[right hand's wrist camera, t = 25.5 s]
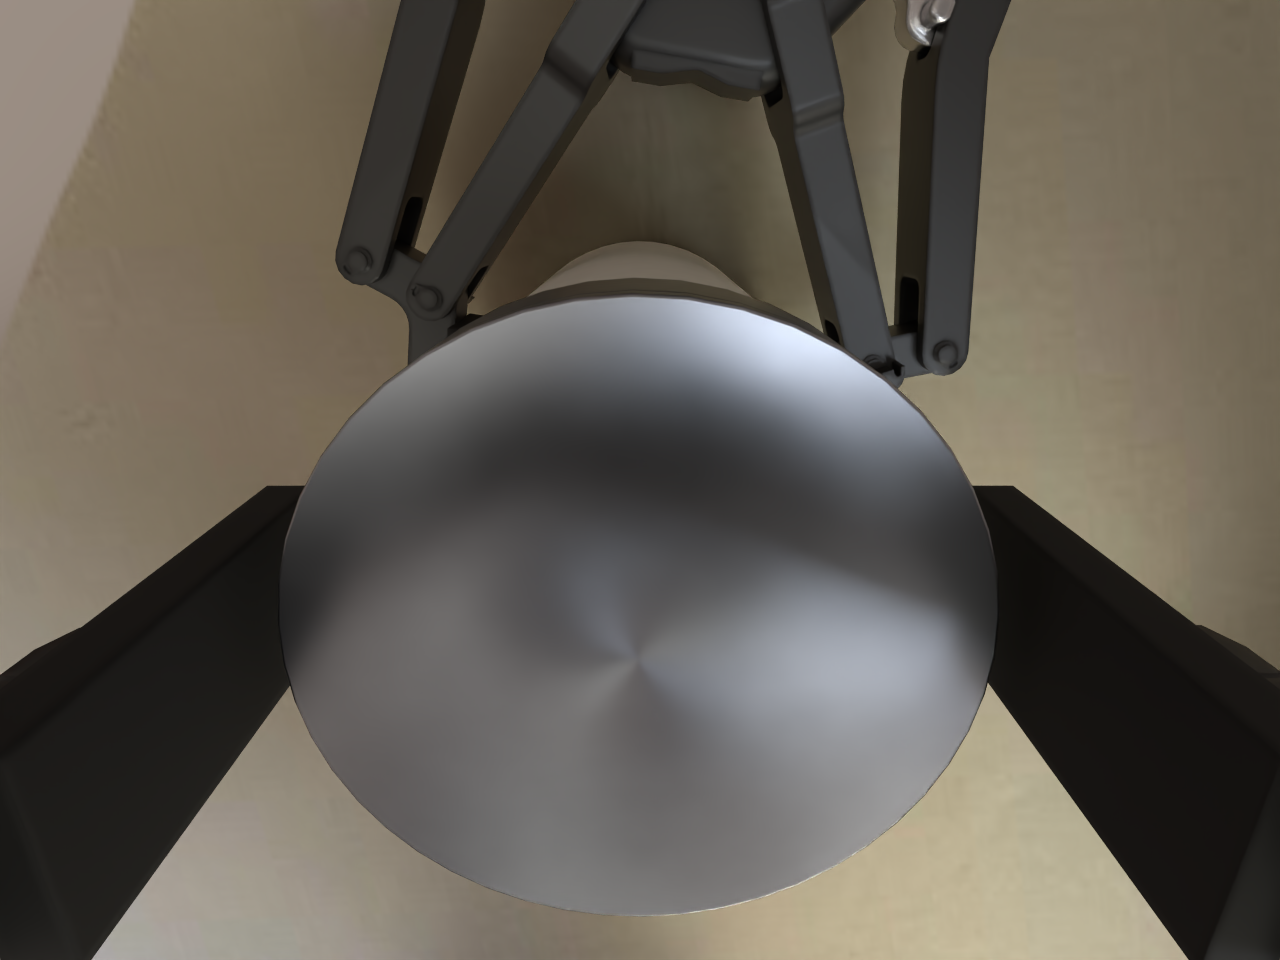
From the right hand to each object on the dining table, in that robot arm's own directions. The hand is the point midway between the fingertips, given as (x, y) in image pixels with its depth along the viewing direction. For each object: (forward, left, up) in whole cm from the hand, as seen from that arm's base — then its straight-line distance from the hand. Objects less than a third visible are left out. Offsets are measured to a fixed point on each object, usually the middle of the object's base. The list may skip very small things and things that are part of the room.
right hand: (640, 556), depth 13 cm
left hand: (-2, +4, -9) cm, 10 cm away
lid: (0, 0, +3) cm, 3 cm away
